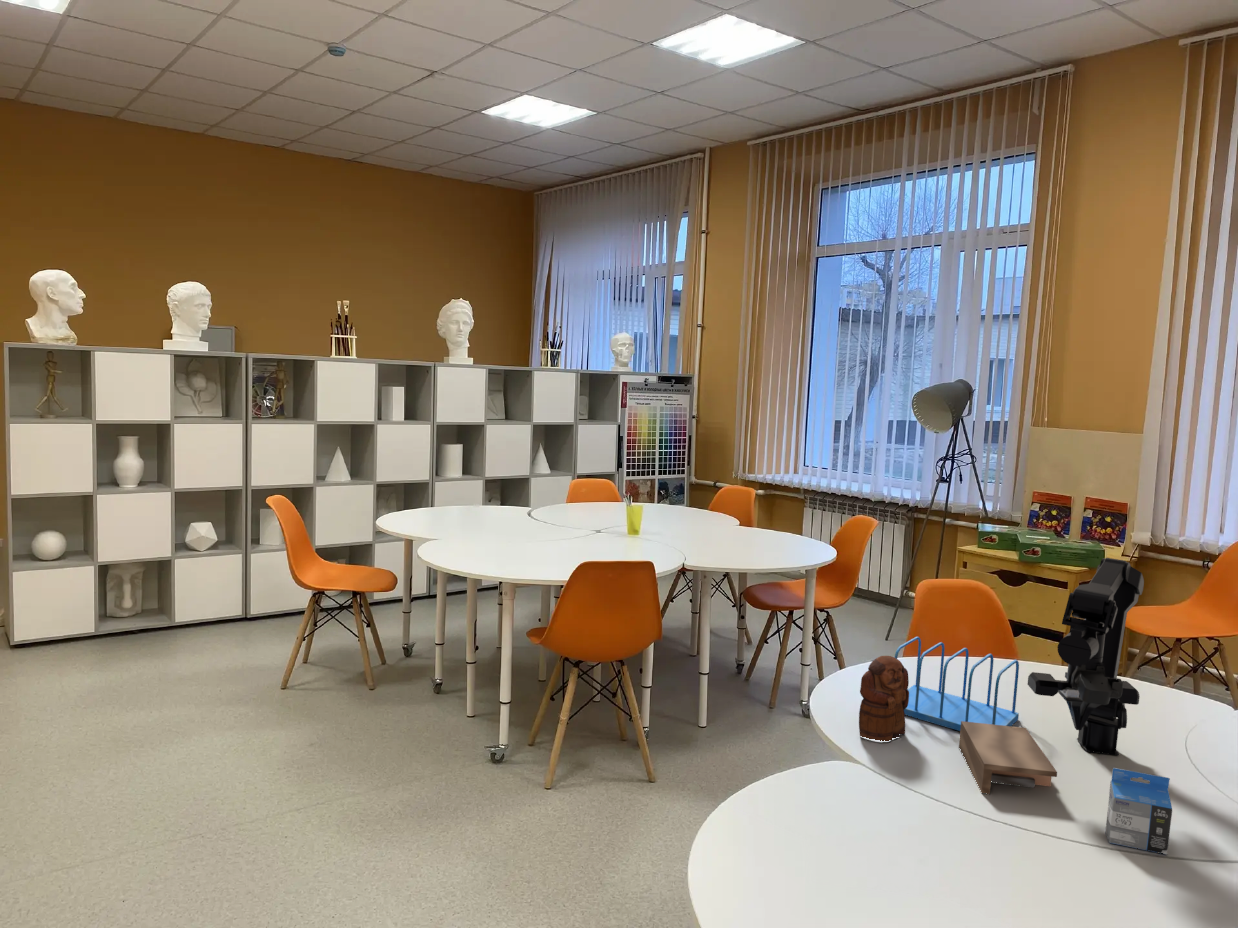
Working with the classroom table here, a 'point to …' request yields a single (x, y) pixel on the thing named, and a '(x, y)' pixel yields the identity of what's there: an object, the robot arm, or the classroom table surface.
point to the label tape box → (1139, 811)
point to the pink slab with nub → (1038, 778)
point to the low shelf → (1002, 754)
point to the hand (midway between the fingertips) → (1077, 729)
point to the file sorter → (957, 697)
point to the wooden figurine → (883, 699)
